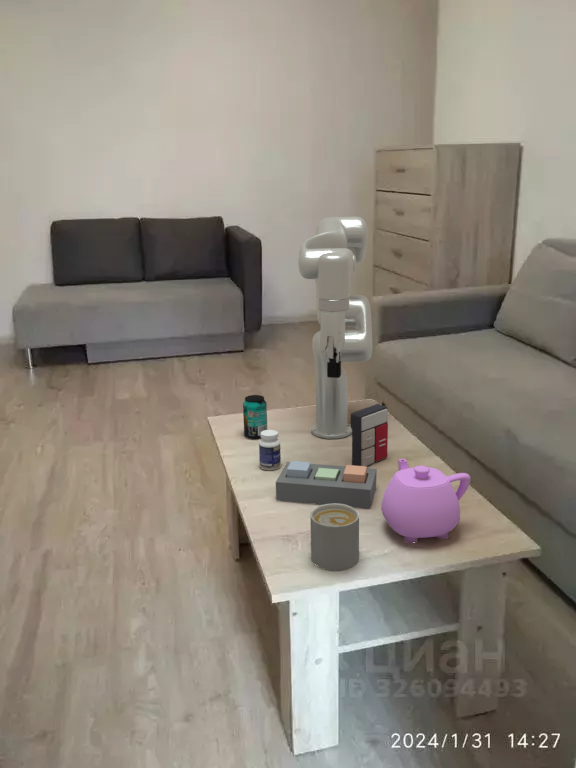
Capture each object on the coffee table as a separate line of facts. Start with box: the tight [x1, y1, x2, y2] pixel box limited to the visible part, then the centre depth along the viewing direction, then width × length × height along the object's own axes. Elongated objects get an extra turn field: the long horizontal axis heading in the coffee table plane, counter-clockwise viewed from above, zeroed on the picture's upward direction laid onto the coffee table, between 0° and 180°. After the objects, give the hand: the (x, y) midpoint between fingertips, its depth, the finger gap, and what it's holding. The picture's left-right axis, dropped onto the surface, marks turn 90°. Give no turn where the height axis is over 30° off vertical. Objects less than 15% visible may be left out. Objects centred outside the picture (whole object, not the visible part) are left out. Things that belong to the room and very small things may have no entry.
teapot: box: [380, 458, 472, 544], centre depth 158 cm, size 20×20×15 cm
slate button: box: [287, 460, 312, 479], centre depth 176 cm, size 5×5×5 cm
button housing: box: [275, 461, 377, 510], centre depth 175 cm, size 12×23×5 cm, turn 77°
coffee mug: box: [309, 503, 360, 571], centre depth 148 cm, size 13×10×10 cm
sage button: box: [315, 468, 339, 481], centre depth 175 cm, size 5×5×5 cm
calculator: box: [350, 403, 389, 467], centre depth 191 cm, size 11×4×15 cm, turn 131°
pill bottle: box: [258, 429, 282, 471], centre depth 190 cm, size 6×6×10 cm
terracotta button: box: [343, 464, 368, 484], centre depth 173 cm, size 5×5×5 cm
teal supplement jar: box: [242, 394, 268, 440], centre depth 212 cm, size 7×7×12 cm
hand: (334, 376), depth 178 cm, fingers closed
